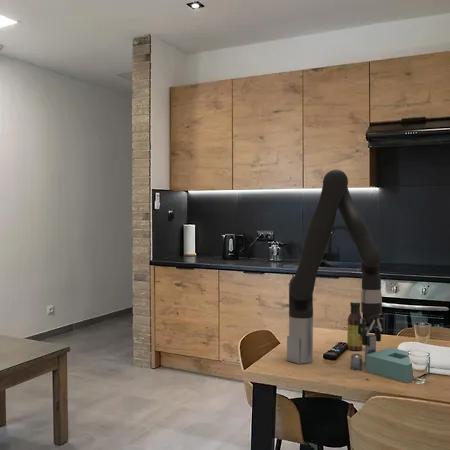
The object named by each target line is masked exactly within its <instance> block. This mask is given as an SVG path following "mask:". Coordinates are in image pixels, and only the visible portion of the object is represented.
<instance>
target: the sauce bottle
mask: <svg viewBox="0 0 450 450" xmlns="http://www.w3.org/2000/svg"><path fill="white" fill-rule="evenodd" d="M349 306H350V313H349V315H348V317H347V349H348V350H350V351H355V352H356V351H363V346H364V345H362V335H361V334H358V319H359V318H363V317H362V314H361V301H353V300H352V301H350V305H349ZM361 331H362V328H361Z"/></svg>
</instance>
